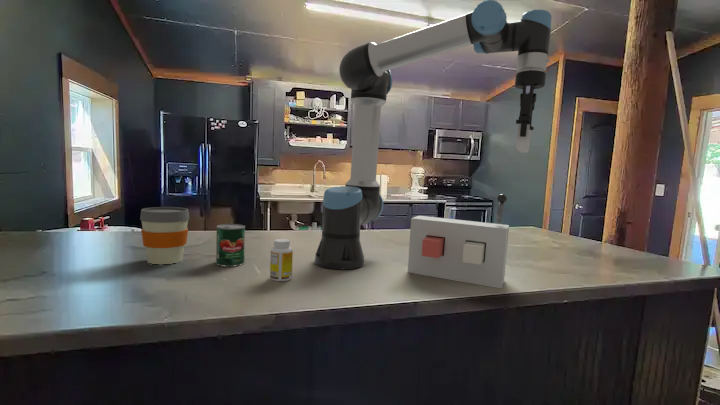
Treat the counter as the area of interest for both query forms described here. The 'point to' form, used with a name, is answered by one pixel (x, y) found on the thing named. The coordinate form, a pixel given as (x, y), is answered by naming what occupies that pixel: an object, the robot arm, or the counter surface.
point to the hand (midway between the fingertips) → (522, 151)
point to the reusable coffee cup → (164, 233)
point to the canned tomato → (230, 244)
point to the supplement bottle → (281, 260)
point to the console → (459, 250)
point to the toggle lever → (500, 207)
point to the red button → (433, 247)
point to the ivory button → (473, 252)
